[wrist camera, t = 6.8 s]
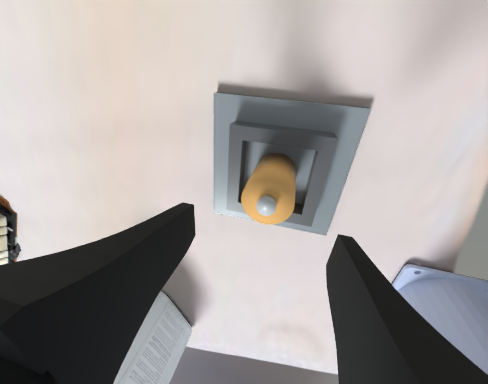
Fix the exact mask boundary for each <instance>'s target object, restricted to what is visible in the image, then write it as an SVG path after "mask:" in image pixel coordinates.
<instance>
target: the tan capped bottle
mask: <svg viewBox="0 0 488 384" xmlns="http://www.w3.org/2000/svg"><path fill="white" fill-rule="evenodd" d="M295 190H296V166H295V164H294V162H293V161H292V160H291V159H290V158H289V157H288V156H286V155H284V154H282V153H270V154H267V155H265V156H263V157H262V158H261V159H260V160H259V162H258V163H257V165H256V167H255V169H254V171H253V173H252V175H251V177H250V179H249V181H248V182H247V184H246V186H245V188H244V190H243V192H242V196H241V202H242V206H243V209H244V211H245V212H246V213H247V215H248V216H249V217H251V218H252V219H253V220H255V221H257V222H259V223H263V224H278V223H281V222H283V221H285V220H286V219H288V218H289V217H290V215H291V214H292V212H293V210H294V206H295Z"/></svg>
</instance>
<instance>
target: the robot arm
mask: <svg viewBox="0 0 488 384" xmlns="http://www.w3.org/2000/svg"><path fill="white" fill-rule="evenodd" d="M194 237H195V218H194V205H193V204H188V203H181V204H179V205H176V206H174V207H172V208H170V209H168V210H166V211H164V212H162V213H160V214H158V215H156V216H154V217H152V218H150V219H148V220H146V221H144V222H142V223H140V224H137V225H135V226H133V227H131V228H129V229H126V230H124V231H122V232H119V233H117V234H114V235H111V236H109V237H106V238H103V239H100V240H98V241H95V242H91V243H88V244H85V245H82V246H78V247H75V248H72V249H69V250H65V251H61V252H57V253H54V254H50V255H45V256H41V257H37V258H33V259H28V260H24V261H19V262H13V263H8V264H3V265H0V384H113V383H114V381H115V378H116V376H117V374H118V372H119V370H120V368H121V365H122V363H123V361H124V359H125V357H126V355H127V353H128V351H129V349H130V347H131V345H132V343H133V341H134V339H135V337H136V335H137V333H138V331H139V329H140V327H141V325H142V323H143V321H144V320H145V318H146V316H147V314H148V312H149V310H150V308H151V307H152V305H153V303H154V301H155V299H156V298H157V296H158V294H159V293H160V291H161V289H162V288H163V286H164V285H165V283H166V282H167V281H168V279H169V278H170V276H171V275H172V273H173V272H174V270H175V269H176V267H177V266H178V264H179V263H180V261H181V260H182V258H183V257H184V255H185V254H186V252H187V251H188V249H189V247H190V245H191V243H192V241H193V239H194ZM417 270H418V271H417ZM326 276H327V290H328V296H329V303H330V309H331V315H332V321H333V327H334V333H335V340H336V348H337V362H338V377H339V384H488V281H487V280H483V279H478V278H473V277H469V276H464V275H459V274H455V273H450V272H445V271H441V270H436V269H431V268H427V267H422V266H417V265H413V264H408V265H405V266H404V267H403V269H402V270H401V272H400V273H399V275H398V276H397V278H396V279H395V281H394V282H393V284H391V283H390V282H389V281H388V280H387V279H386V278H385V276H384V275H383V274H382V273H381V272H380V271H379V269H378V268H377V267H376V266H375V265H374V263H373V262H372V261H371V260H370V258H369V257H368V256H367V255H366V253H365V252H364V251H363V250H362V248H361V247H360V246H359V245H358V243H357V242H356V241H355V240H354V239H353V237H349V236H344V235H339V234H338V236H337V239H336V241H335V244H334V247H333V249H332V252H331V254H330V257H329V259H328V262H327V265H326Z"/></svg>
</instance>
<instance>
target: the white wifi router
mask: <svg viewBox="0 0 488 384" xmlns="http://www.w3.org/2000/svg"><path fill="white" fill-rule="evenodd" d="M191 332H192V328H191V326H190V325H189V323H188V322H187V321H186V319H185V318H184V317H183V315H182V314H181V313H180V312H179V310H178V309H177V308H176V307H175V305H174V304H173V303H172V301H171V300H170V299H169V298H168V297H167V296H166V295H165V294H164V293H163V292H162V291H160V293H159V294H158V296H157V298H156V299H155V301H154V303H153V305H152V307H151V308H150V310H149V312H148V314H147V316H146V318H145V320H144V321H143V323H142V325H141V327H140V329H139V331H138V333H137V335H136V337H135V339H134V341H133V343H132V345H131V347H130V349H129V351H128V353H127V355H126V357H125V359H124V361H123V363H122V365H121V368H120V370H119V372H118V374H117V376H116V378H115V381H114V383H113V384H169V383H170V381H171V378H172V376H173V374H174V371H175V369H176V367H177V365H178V362H179V360H180V358H181V356H182V353H183V351H184V349H185V347H186V344H187V342H188V340H189V338H190V335H191Z"/></svg>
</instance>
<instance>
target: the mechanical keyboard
mask: <svg viewBox="0 0 488 384" xmlns="http://www.w3.org/2000/svg"><path fill="white" fill-rule="evenodd" d="M5 203H6V204H5ZM20 251H21V250H20V246H19V244H18V243H17V213H15V212H14V211H13V210H12V209H11V208H10V206H9V202H8V201H7V200H6V199H4V198H3V197H1V196H0V265H3V264H8V263H13V262H16V258H17V257H18V253H19V252H20Z"/></svg>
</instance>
